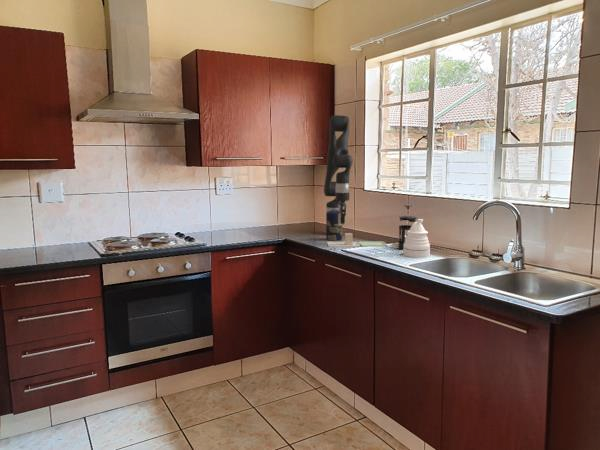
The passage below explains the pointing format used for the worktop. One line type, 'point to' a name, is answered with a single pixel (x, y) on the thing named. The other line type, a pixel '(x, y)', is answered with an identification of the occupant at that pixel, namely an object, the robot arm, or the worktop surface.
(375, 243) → the bin
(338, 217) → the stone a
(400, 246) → the french press
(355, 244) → the bin
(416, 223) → the honey pot
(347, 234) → the beige block
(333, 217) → the canister
